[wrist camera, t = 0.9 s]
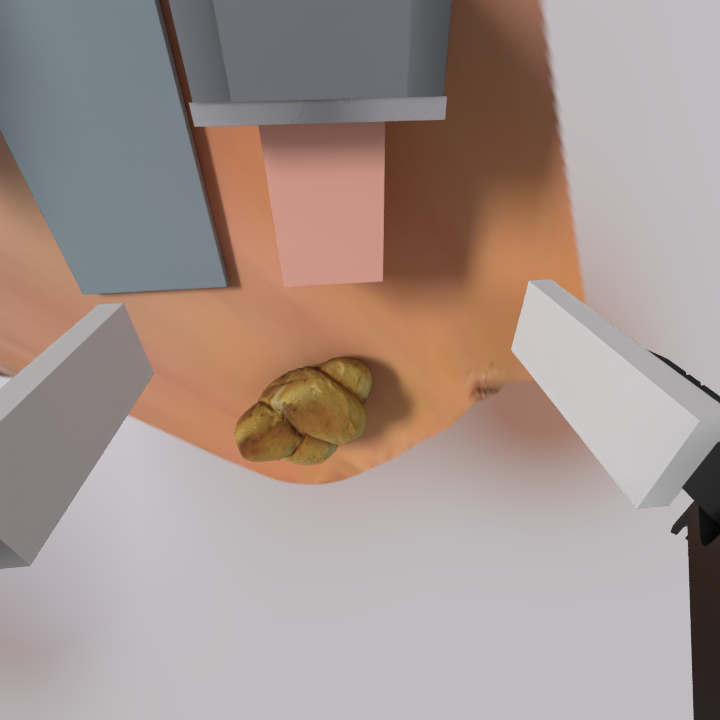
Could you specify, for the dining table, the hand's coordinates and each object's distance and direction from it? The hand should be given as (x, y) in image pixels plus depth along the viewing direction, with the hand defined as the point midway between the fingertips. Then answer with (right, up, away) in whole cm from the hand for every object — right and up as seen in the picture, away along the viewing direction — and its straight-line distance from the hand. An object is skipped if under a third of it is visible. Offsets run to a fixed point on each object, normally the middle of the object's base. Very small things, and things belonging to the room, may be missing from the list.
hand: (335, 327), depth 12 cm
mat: (-16, +12, +11) cm, 23 cm away
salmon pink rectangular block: (-2, +13, +12) cm, 18 cm away
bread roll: (-4, -4, +25) cm, 25 cm away
